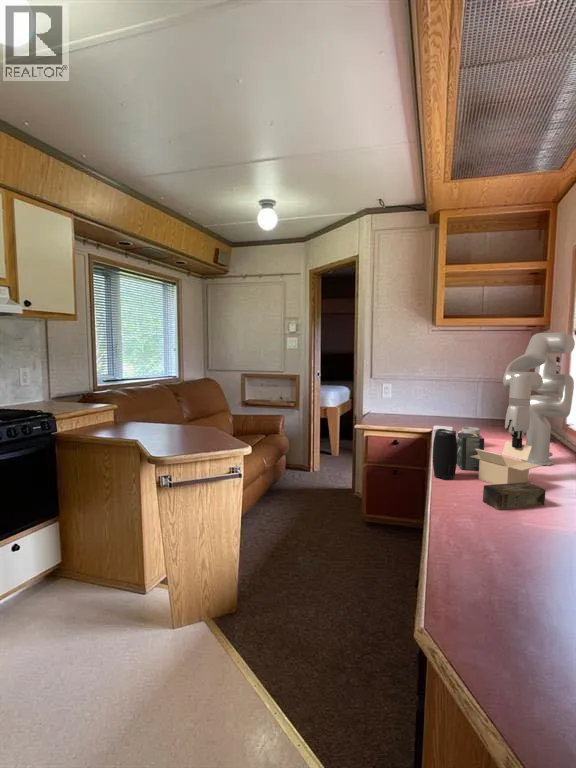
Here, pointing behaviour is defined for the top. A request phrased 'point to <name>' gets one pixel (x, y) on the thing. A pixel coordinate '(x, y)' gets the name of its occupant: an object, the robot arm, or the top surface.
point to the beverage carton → (513, 495)
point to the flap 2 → (517, 451)
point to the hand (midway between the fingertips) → (516, 447)
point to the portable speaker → (445, 454)
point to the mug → (469, 430)
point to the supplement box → (435, 431)
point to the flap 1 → (491, 457)
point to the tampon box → (468, 450)
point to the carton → (504, 471)
